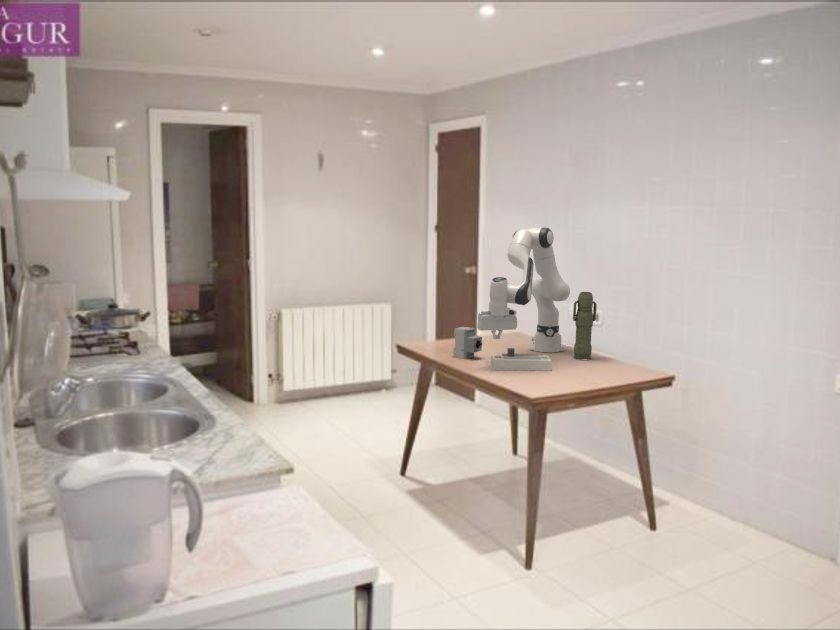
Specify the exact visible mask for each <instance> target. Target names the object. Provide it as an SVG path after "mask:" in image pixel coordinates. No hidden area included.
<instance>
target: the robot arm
mask: <svg viewBox="0 0 840 630" xmlns="http://www.w3.org/2000/svg"><path fill="white" fill-rule="evenodd" d="M554 238H555V237H554V233H553V231H552V230H551V228H549V227H530V228H525V229H523V228H521V229H518V230H516V231H515V232H514V233H513V234H512V239H511V241H510V244H509V247H508V249H507V254H506V256H507V258H508V261H509V262H510V263H511V264H512V265H514V267H517V268H519V269H521V270H523V275H522V282H521V283H517V284H516V283H509V282H508V279H507V277H503V276H497V277H493V278H492V279H491V282H490V286H489V303H488V310H486V311H485V310H483V311H480V312H479V313H478V314H477V326H476V328H477V329H478V330H479V331H491V334H492V335H493V336H492V337H493V340H500V339H501V336H502V334H503V331H506V330H507V331H509V330H516V329H517V328H518V318H517V316H516V315H517V311H516V309H515V310H514V309H512V308H510V307H508V304H513V305H518V306H519V305H520V306H526V305H528V303H529V302H531V300H532V296H533V298H534V300H535V303H536V306H537V312H538V313H537V316H538V317H537V319H538V320H537V325H536V333H535V334H534V336H532V337H531V341H532V343H530V347H529V350H530V351H535V352H541V353H559V352H563V351H565V349H564V347H562V335H561V334H560V333H559V332H560V325H559V320H560V319H559V318H560V317H559V316H560V311H559V310H558V308H557V307H556V305H555V302H563V301H566V300H568V298H569V297H570V294H571V288H570V286H569V284H567V283H566V281H564V279H563V278H562V276H561V274H560V272H559V270H558V267H557V263H556V258H555V251H554V248H553V242H554ZM531 250H532V251H531ZM531 252H532V257H533V258H532V257H531V256H530V255H531ZM534 267H535V269H534ZM534 270H535V273H536V274H537V275H538V276H539V277H540V279H539V278H538V279H535V280H533V276H534ZM496 331H497V332H498V333H497V332H496ZM496 333H497V334H496Z"/></svg>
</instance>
